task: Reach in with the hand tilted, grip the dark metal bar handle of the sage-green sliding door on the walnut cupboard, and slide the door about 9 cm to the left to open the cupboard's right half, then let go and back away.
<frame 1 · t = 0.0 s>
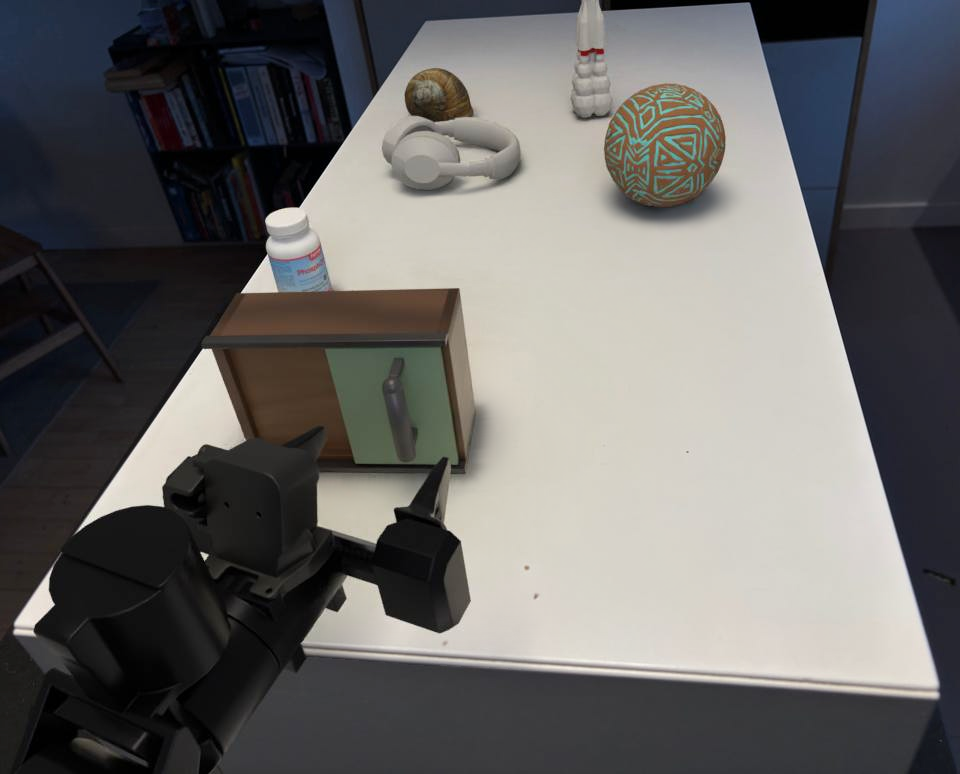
hand: (384, 445, 52), 15 cm above the table, tool horizontal, fingers open, 9 cm apart
headphones: (455, 171, 122), on the table
cupboard: (366, 437, 76), on the table
decorative sphere: (661, 202, 108), on the table
pill bottle: (309, 304, 96), on the table
rocket model: (591, 115, 134), on the table
seashell: (440, 119, 140), on the table
sliding door: (390, 422, 67), point 7 cm above the table, slide at 0.0 cm
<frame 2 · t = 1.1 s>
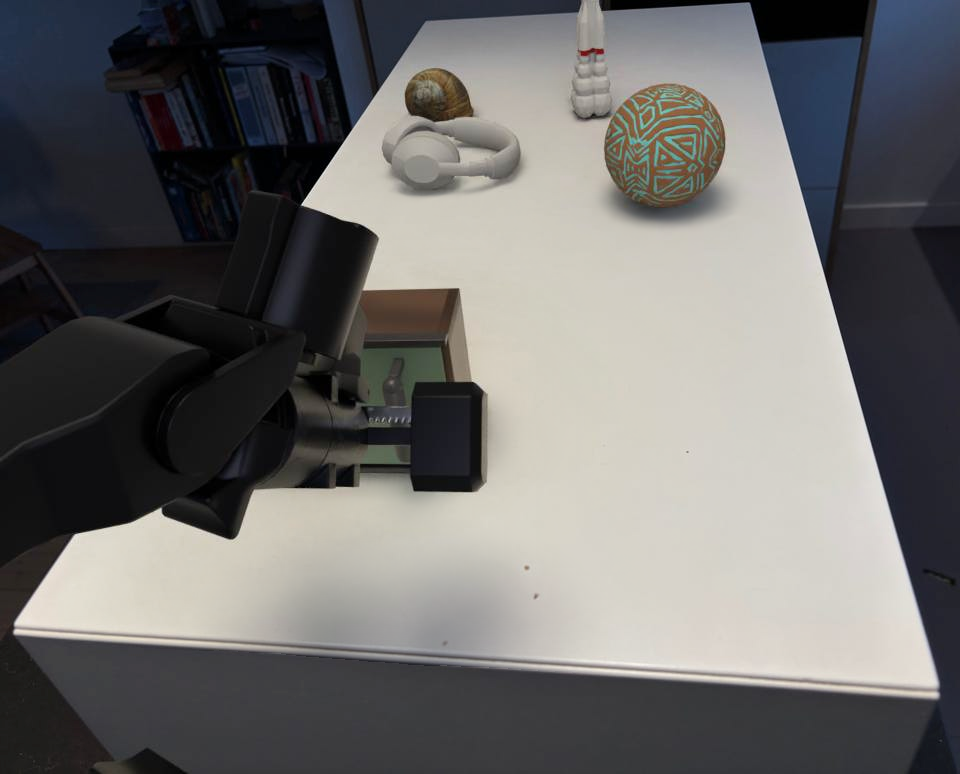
hand: (367, 441, 56), 13 cm above the table, tool tilted 45°, fingers open, 9 cm apart
nothing on the table moved.
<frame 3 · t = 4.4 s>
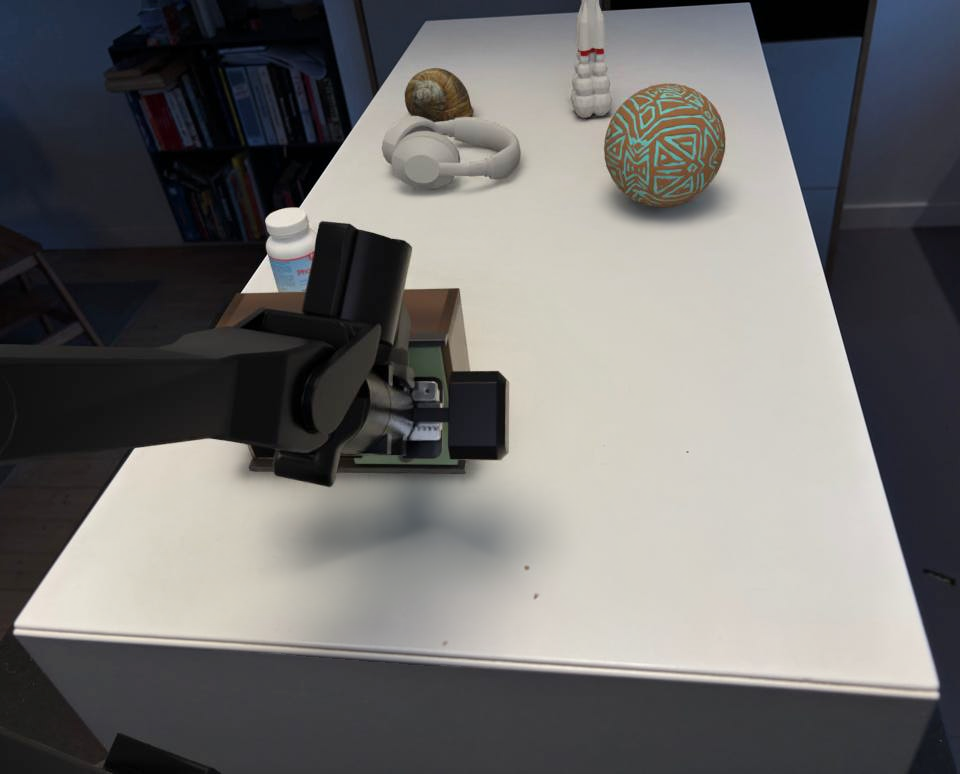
hand: (405, 423, 66), 7 cm above the table, tool tilted 45°, fingers closed on sliding door, 2 cm apart
sliding door: (390, 422, 67), point 7 cm above the table, slide at 0.0 cm, touching gripper
everything else where it was.
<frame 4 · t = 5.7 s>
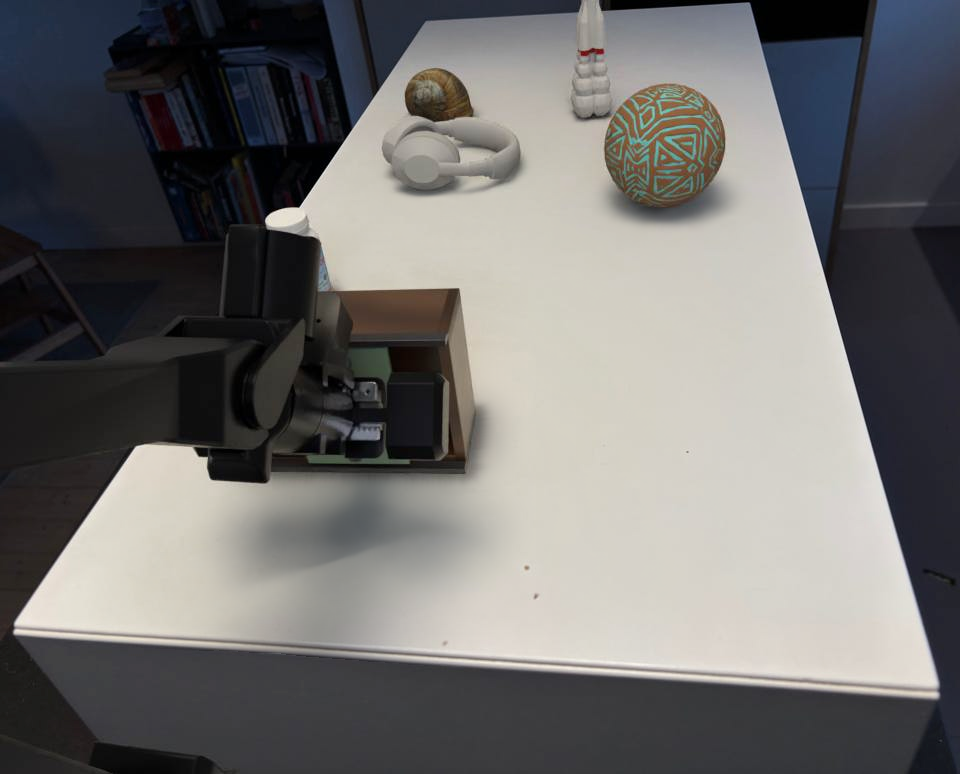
hand: (354, 423, 67), 7 cm above the table, tool tilted 45°, fingers closed on sliding door, 2 cm apart
sliding door: (339, 422, 67), point 7 cm above the table, slide at 4.3 cm, touching gripper
everything else where it was.
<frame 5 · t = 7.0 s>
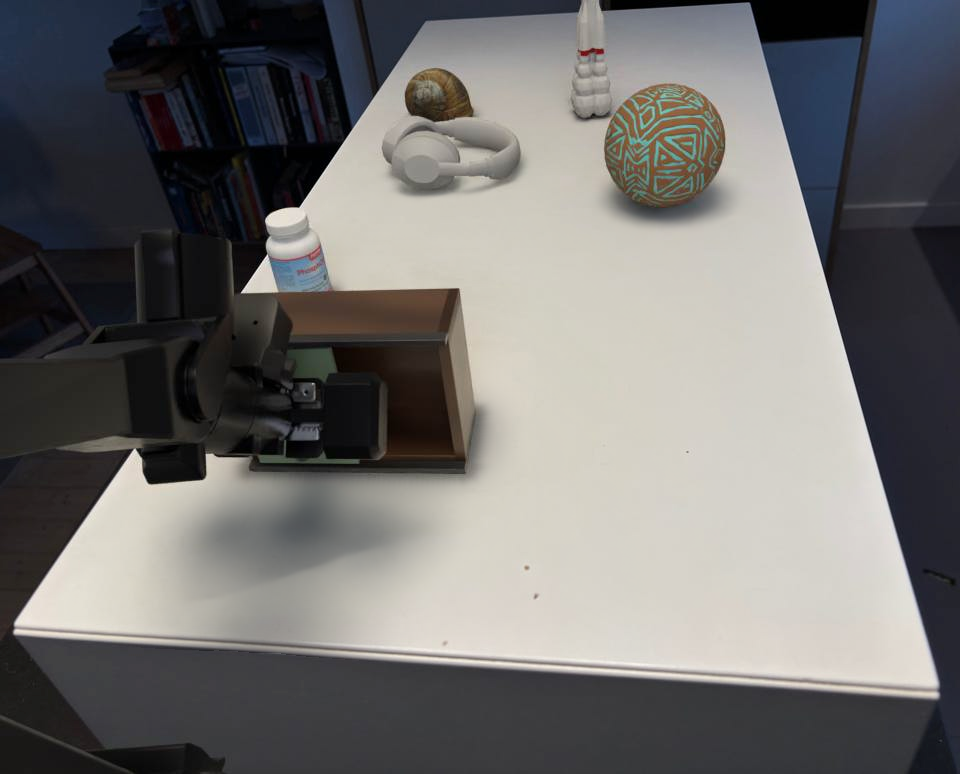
hand: (301, 423, 68), 7 cm above the table, tool tilted 45°, fingers closed on sliding door, 2 cm apart
sliding door: (286, 422, 68), point 7 cm above the table, slide at 8.9 cm, touching gripper
everything else where it was.
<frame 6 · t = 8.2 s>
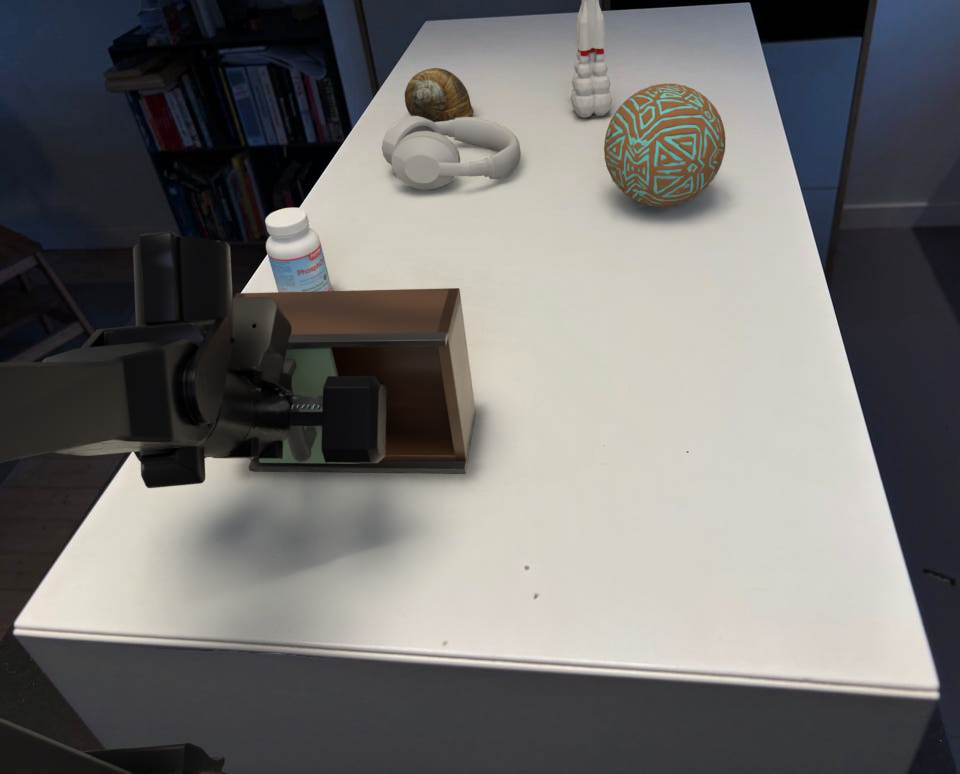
hand: (300, 426, 68), 7 cm above the table, tool tilted 45°, fingers open, 9 cm apart
sliding door: (286, 422, 68), point 7 cm above the table, slide at 9.0 cm
everything else where it was.
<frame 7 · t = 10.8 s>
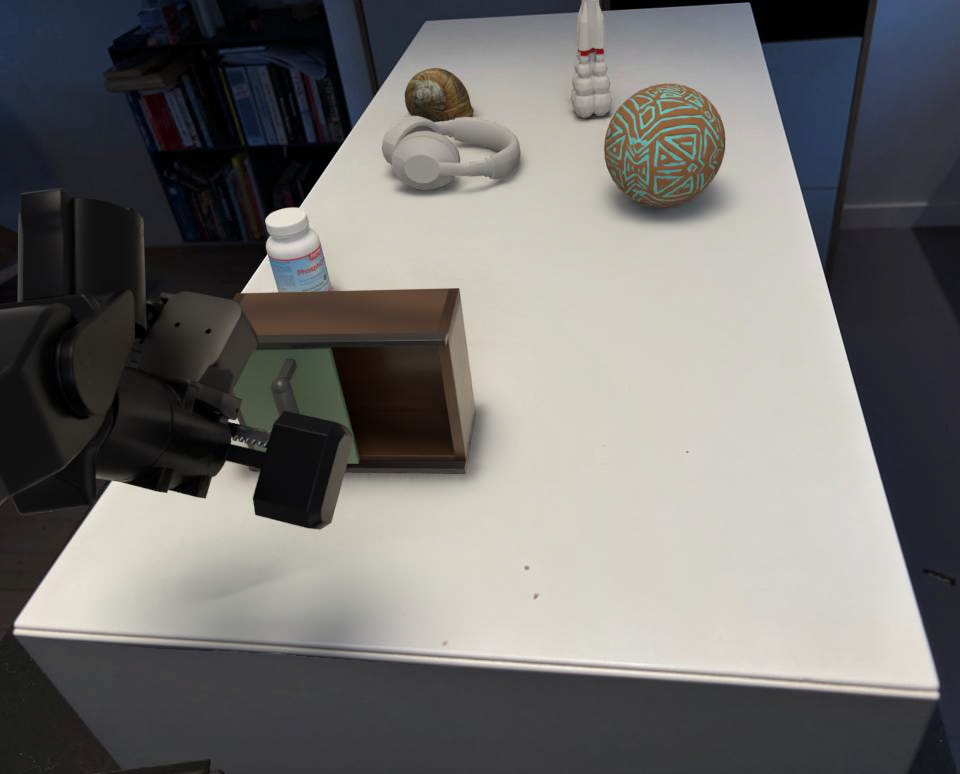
hand: (254, 460, 57), 12 cm above the table, tool tilted 40°, fingers open, 9 cm apart
nothing on the table moved.
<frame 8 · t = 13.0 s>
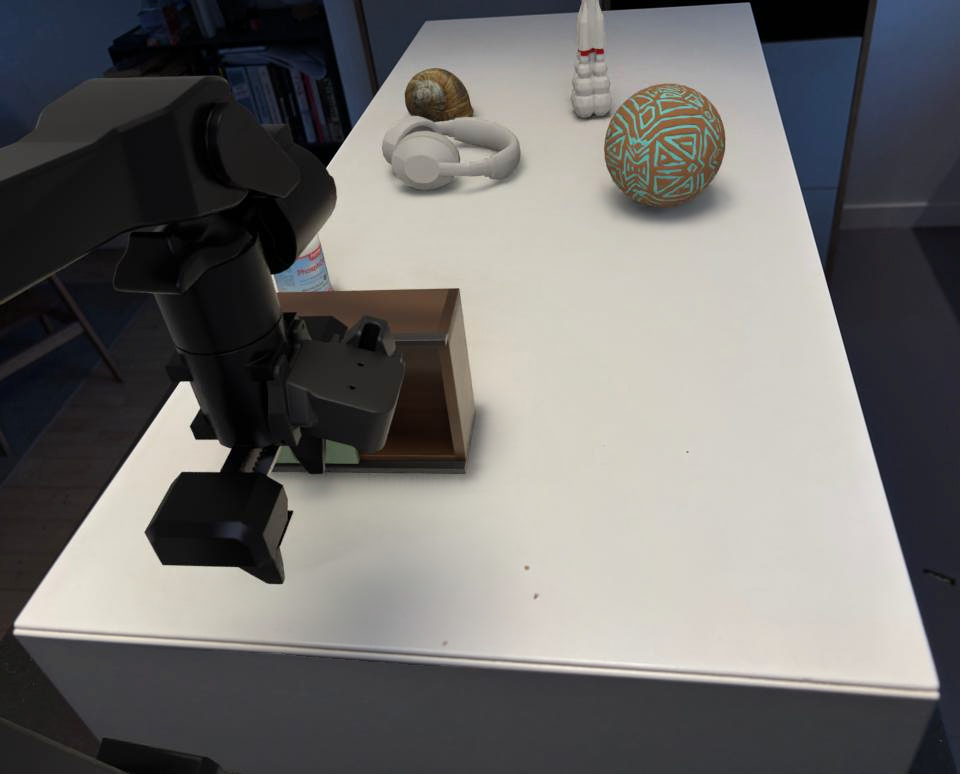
hand: (298, 523, 52), 12 cm above the table, tool pointing down, fingers open, 9 cm apart
nothing on the table moved.
at the end: sliding door slide at 9.0 cm; pill bottle moved 0.2 cm from its start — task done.
